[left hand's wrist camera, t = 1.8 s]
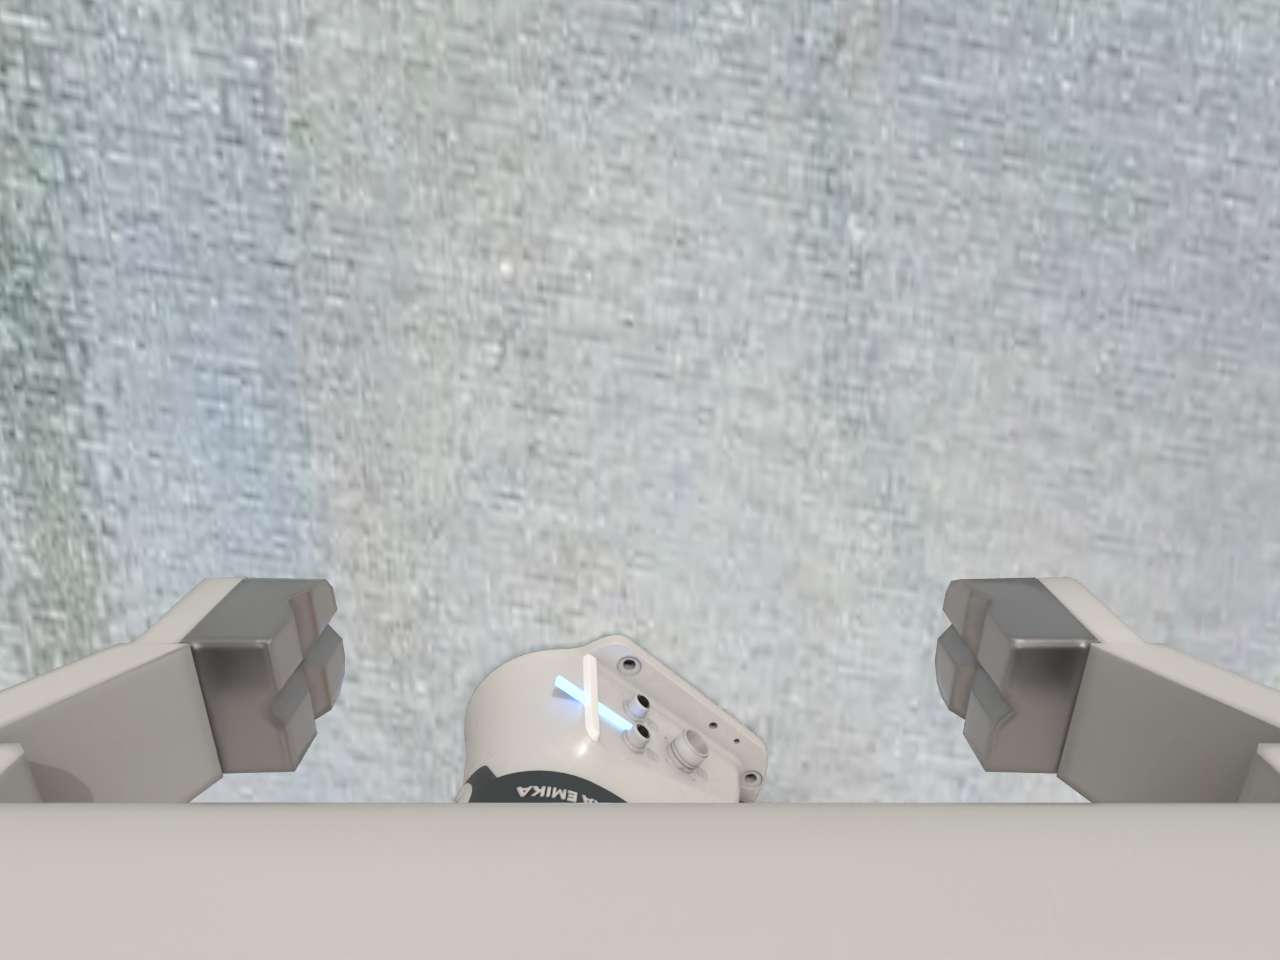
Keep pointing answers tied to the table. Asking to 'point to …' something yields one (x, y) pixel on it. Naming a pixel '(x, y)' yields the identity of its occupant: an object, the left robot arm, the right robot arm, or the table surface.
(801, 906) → the left robot arm
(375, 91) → the table surface
